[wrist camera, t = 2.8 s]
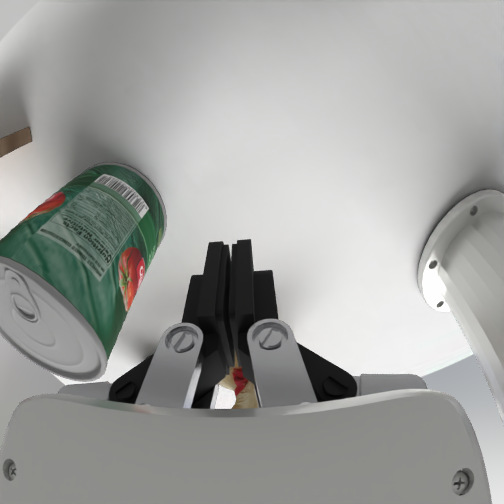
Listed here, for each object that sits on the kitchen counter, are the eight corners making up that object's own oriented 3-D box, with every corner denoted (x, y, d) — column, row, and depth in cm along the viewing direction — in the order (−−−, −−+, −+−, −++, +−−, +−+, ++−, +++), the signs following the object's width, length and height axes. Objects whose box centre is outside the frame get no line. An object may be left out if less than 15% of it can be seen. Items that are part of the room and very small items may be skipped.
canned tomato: (160, 270, 21) (114, 399, 12) (74, 245, 20) (2, 348, 11) (175, 174, 17) (93, 297, 8) (72, 152, 16) (-45, 238, 6)
